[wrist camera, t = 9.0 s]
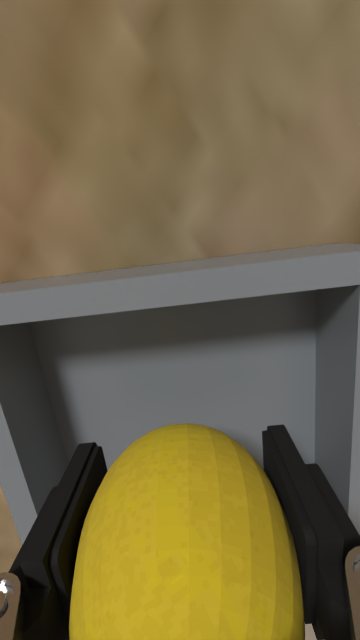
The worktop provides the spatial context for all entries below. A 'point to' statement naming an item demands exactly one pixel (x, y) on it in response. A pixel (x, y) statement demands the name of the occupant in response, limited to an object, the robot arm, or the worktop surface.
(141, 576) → the lemon
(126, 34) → the worktop surface
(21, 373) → the box
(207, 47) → the worktop surface
